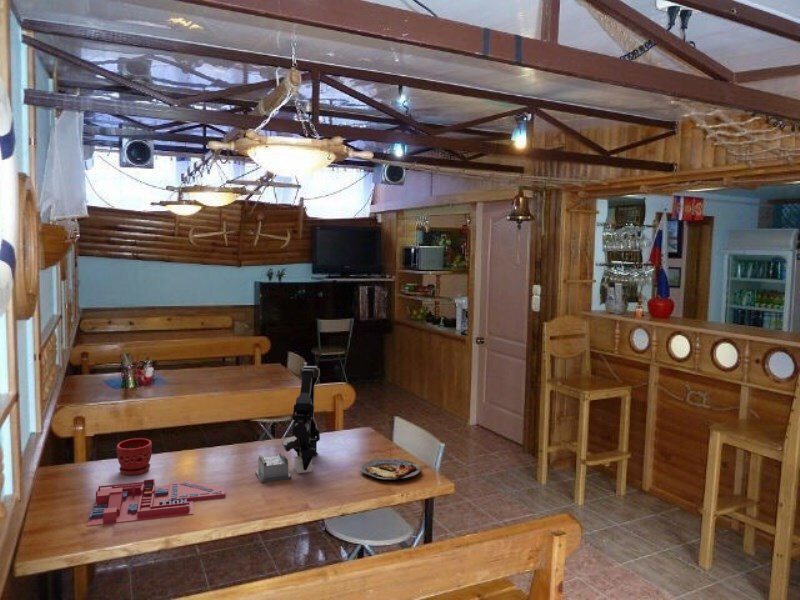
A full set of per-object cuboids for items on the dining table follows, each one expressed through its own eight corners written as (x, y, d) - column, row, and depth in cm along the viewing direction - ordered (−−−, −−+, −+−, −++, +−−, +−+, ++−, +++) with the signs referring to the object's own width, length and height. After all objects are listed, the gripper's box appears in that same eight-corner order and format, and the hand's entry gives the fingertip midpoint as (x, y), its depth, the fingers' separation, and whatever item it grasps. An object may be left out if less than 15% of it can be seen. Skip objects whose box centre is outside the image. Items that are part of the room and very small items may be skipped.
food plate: (431, 472, 255) (431, 464, 255) (393, 488, 238) (393, 479, 238) (388, 459, 272) (388, 452, 272) (349, 473, 256) (349, 465, 255)
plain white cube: (308, 466, 260) (308, 455, 260) (312, 471, 255) (312, 459, 254) (294, 468, 258) (294, 456, 257) (297, 473, 252) (297, 461, 252)
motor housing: (282, 467, 259) (283, 449, 258) (291, 478, 246) (291, 460, 246) (254, 471, 254) (254, 453, 253) (261, 482, 241) (261, 464, 241)
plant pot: (112, 470, 251) (112, 442, 250) (145, 463, 260) (145, 436, 259) (123, 480, 241) (122, 450, 240) (156, 472, 250) (156, 443, 249)
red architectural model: (229, 511, 216) (229, 495, 215) (86, 529, 200) (85, 512, 200) (222, 480, 244) (221, 466, 244) (96, 494, 228) (96, 479, 228)
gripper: (278, 426, 260) (278, 462, 261) (289, 439, 243) (289, 477, 244) (304, 424, 265) (304, 459, 266) (317, 436, 248) (316, 474, 249)
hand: (303, 467), depth 256 cm, fingers closed on plain white cube, 6 cm apart
